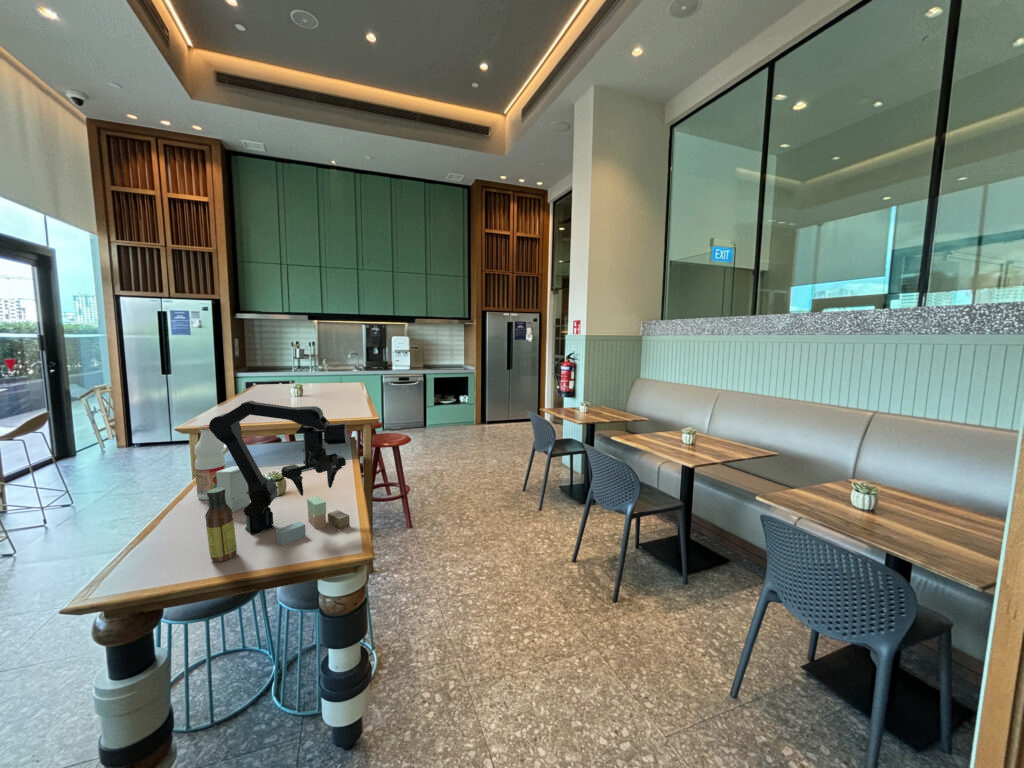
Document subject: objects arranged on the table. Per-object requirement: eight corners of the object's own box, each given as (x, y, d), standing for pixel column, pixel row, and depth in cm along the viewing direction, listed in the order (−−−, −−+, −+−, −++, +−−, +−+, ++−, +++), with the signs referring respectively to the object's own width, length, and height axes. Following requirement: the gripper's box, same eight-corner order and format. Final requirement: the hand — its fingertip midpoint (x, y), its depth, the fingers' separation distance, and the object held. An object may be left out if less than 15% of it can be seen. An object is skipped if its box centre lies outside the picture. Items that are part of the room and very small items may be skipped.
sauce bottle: (236, 549, 119) (232, 483, 117) (237, 558, 114) (233, 490, 112) (208, 556, 115) (203, 488, 113) (208, 566, 110) (203, 495, 108)
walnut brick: (349, 527, 134) (349, 515, 134) (339, 530, 131) (339, 519, 131) (338, 521, 138) (337, 509, 138) (328, 524, 136) (327, 513, 135)
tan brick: (326, 525, 135) (325, 513, 134) (314, 528, 133) (314, 516, 132) (319, 518, 140) (318, 507, 140) (308, 521, 138) (307, 510, 137)
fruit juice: (202, 493, 163) (197, 424, 160) (230, 490, 166) (225, 422, 163) (193, 501, 154) (187, 429, 151) (222, 498, 157) (217, 427, 154)
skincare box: (232, 513, 144) (229, 472, 142) (217, 512, 145) (214, 471, 143) (251, 504, 152) (248, 465, 150) (237, 503, 153) (234, 464, 151)
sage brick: (326, 513, 135) (325, 502, 134) (315, 516, 132) (314, 504, 132) (318, 507, 140) (318, 496, 139) (307, 510, 137) (307, 498, 137)
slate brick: (282, 545, 122) (281, 532, 121) (277, 542, 124) (276, 529, 123) (305, 536, 127) (305, 524, 127) (300, 533, 129) (299, 521, 129)
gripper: (294, 456, 121) (297, 506, 123) (353, 443, 135) (355, 489, 137) (279, 449, 128) (282, 497, 130) (336, 438, 143) (339, 481, 144)
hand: (316, 491), depth 135 cm, fingers open, 9 cm apart
